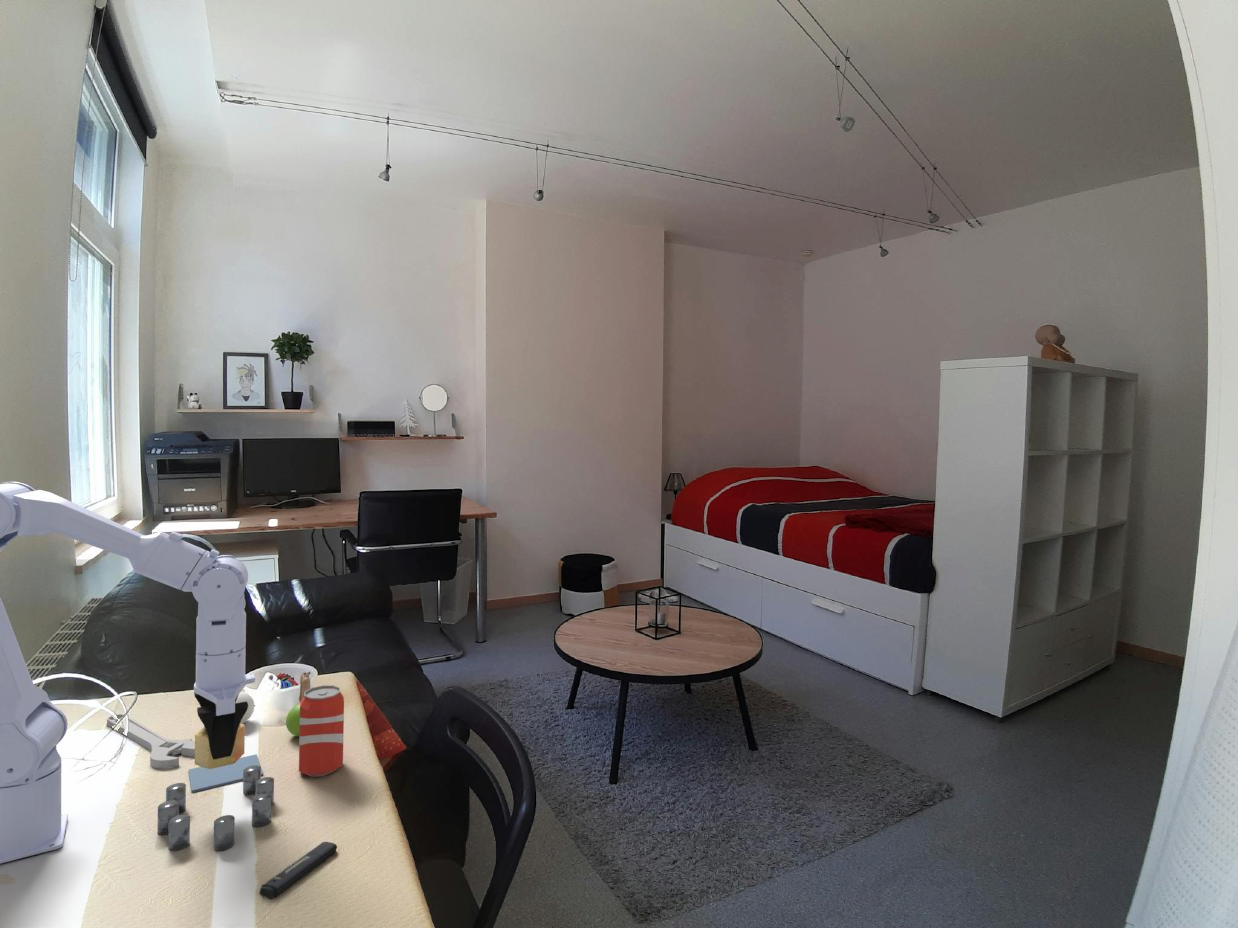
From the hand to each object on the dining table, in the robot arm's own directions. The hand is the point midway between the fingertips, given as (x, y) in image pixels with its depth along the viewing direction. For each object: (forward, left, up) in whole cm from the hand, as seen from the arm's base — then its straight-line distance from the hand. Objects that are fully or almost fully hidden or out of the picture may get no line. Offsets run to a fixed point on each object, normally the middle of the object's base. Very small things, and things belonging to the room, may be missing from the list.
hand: (220, 748), depth 89 cm
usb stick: (+7, -20, -9) cm, 23 cm away
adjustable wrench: (-7, +29, -9) cm, 31 cm away
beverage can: (+14, +4, -9) cm, 17 cm away
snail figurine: (+14, +17, -9) cm, 24 cm away
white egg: (+5, +29, -9) cm, 31 cm away
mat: (+2, +10, -8) cm, 13 cm away
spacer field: (0, -3, -8) cm, 9 cm away
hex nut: (0, 0, -1) cm, 1 cm away
